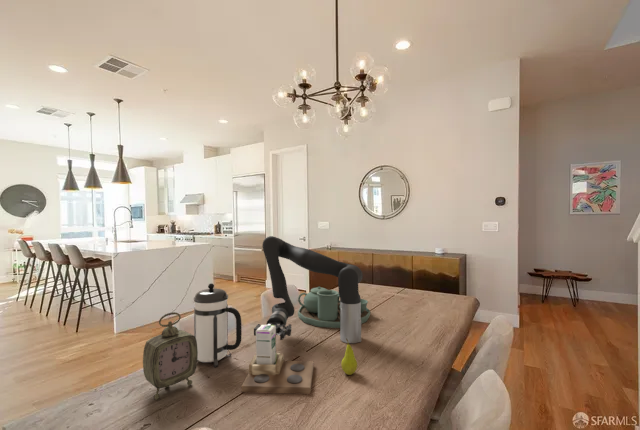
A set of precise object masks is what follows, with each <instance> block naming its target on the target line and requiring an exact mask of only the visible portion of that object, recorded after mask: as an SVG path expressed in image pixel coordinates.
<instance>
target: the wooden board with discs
mask: <svg viewBox="0 0 640 430" xmlns="http://www.w3.org/2000/svg"><path fill="white" fill-rule="evenodd" d="M276 362H277V363H276V365H265V364H256V353H255V354H254V356H253V357H252V359H251V360H250V363H249V365H248V372H247V373H248V374H247V375H246V377H245V379H244V381H243V383H242V385H241V393H251V394H252V393H254V394H255V393H256V394H257V393H258V394H262V393H263V394H296V395H297V394H302V395H303V394H305V395H306V394H307V395H310V394H311V390H312V384H313V383H312V382H313V377H314V375H313V374H314V369H315V367H314V365H315V363H314V362H315V361H313V360H309V361H308V360H284V353H280V352H276Z"/></svg>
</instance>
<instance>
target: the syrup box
mask: <svg viewBox="0 0 640 430" xmlns="http://www.w3.org/2000/svg"><path fill="white" fill-rule="evenodd" d="M260 325H261V326H260V327H259V328H258V329H257V330H256V336H255V354H256V364H265V365H276V363H277V362H276V353H277V335H276V326H275V325H266V324H260Z"/></svg>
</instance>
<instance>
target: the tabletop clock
mask: <svg viewBox="0 0 640 430" xmlns="http://www.w3.org/2000/svg"><path fill="white" fill-rule="evenodd" d="M171 315H177V316H178V319H177V320H176V321H174V322H172V321H168V323H167V324H163V323H161V322H162V320H163V319H164V318H165V317H166V318H167V317H168V316H171ZM181 317H182V316H181V314H180V313H178V312H175V311H174V312H173V311H172V312H169V313H165V314H164V315H162V316H161V317H160V318H159V321H158V325H160V326H161V327H163V328H164V329H163V330H162V331H161V334H158V335H156V336H152V337H151V338H149V339H148V340H146V341H145V345H144V348H143V352H142V353H143V355H142V369H143V375H144V378H145V380H146V381H147V382H149V384H151V385H152V386H154V388H155V389H156V393H155V394H154V395H153V399H154V400H158V399H159V398H160V394H159V392H160V389H164V388H170V386H174V385H176V384H178V383H181V382H183V381H184V380H186V384H187V385H188V386H191V385H192V384H193V380H192V379H189V378H190V377H191V376H193V375H195V373H196V370H197V366H198V362H197V357H198V350H197V341H196V338H195V336H194V334H192V333H189V332H187V331H185V330H181V329H178V327H176V326H175V325H177V324H178V323H179V322H180V321H181Z"/></svg>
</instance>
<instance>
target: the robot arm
mask: <svg viewBox="0 0 640 430" xmlns="http://www.w3.org/2000/svg"><path fill="white" fill-rule="evenodd" d="M262 251H263V254H264V257H265V260H266V263H267V267H268V272H269V276H270V282H271V288H272V289H271V290H272V296H273V298H274V299H283V300H284V302H280V303H275V304H273V305H272V307H271V314H270V316H269V318H268V319H267V320H266V323H265V325H275V326H276V336H280V337H279V340H280V341H281V340H282V341H283V340H284V339H285V337H286V336H288V337H290V336H292V335H291V334H292V324H290V323H289V324H288V325H287V321H288V319H289V318H291V317H293V315H294V314H295V306H294V305H293V302H292V300H291V298H290V296H289V290H288V287H287V285H288V284H287V280H286V276H285V273H284V271H283V268H282V267H281V263H280V259H279V258H282V259H286V260H289V261H290V262H292V263H294V264H296V266H299V267H301V268H303V269H305V270H307V271H310V272H314V273H317V274H318V273H319V274H324V275H330V276H334V277H337V278H338V280H337V282H338V283H337V285H338V292H339V296H340V297H339V300H340V328H339V333H340V334H339V335H340V337H339V338H340V341H341V342H343V343H346V344H348V343H349V344H357V343H361V342H362V324H361V299H362V298H361V295H360V294H359V292H360V291H359V283H361V281H362V280H363V277H364V276H363V272H362V270H361V268H360V267H359V266H357V265H354V264H351V263H346V262H342V261H338V260H336V259H333V258H331V257H329V256H326V255H324V254H322V253H320V252H316V251H314V250H312V249H309V248H305V247H299V246H295V245H292V244H290V243H289V242H286V241H284V240H283V239H282V238H279V237H276V236H273V235H270V236H266V237H265V238H264V240H263V242H262ZM261 325H262V324H261V323H258V324H256V326H255V327H254V328H253V336H254V337H256V330H257V329H258V328H259V327H260V326H261ZM346 339H347V340H348V342H347V340H346Z"/></svg>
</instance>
